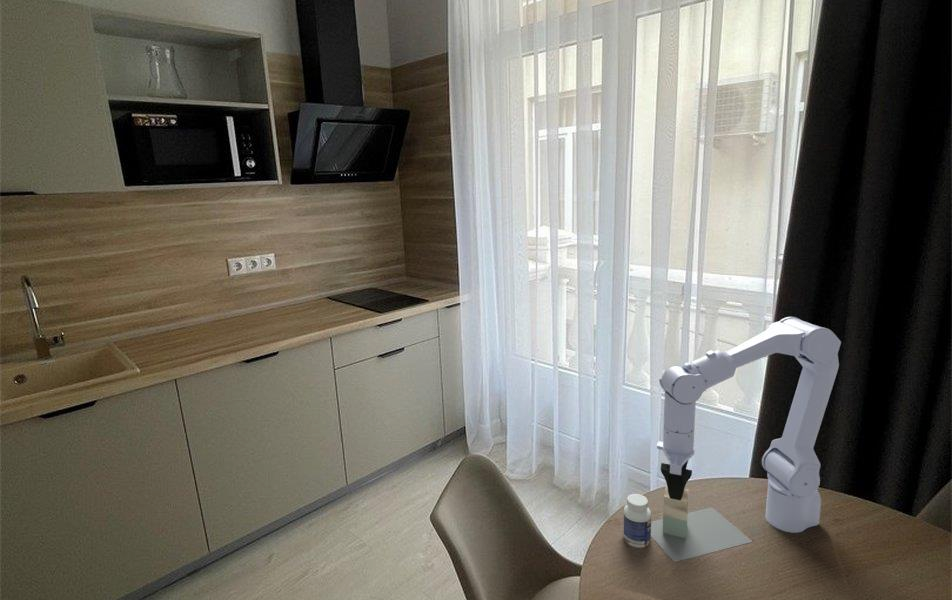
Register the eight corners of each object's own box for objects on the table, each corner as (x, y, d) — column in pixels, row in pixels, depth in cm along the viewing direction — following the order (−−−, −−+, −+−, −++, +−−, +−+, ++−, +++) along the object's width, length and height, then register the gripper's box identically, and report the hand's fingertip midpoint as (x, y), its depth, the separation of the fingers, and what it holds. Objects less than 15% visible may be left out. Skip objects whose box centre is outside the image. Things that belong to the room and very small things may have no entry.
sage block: (664, 519, 105) (665, 503, 104) (687, 524, 103) (687, 508, 102) (662, 532, 101) (663, 515, 100) (686, 538, 99) (686, 521, 98)
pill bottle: (652, 552, 97) (653, 508, 95) (624, 549, 98) (624, 506, 96) (648, 533, 102) (649, 492, 100) (622, 531, 103) (622, 490, 101)
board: (711, 510, 108) (712, 507, 108) (752, 545, 97) (752, 541, 97) (640, 527, 104) (640, 524, 104) (674, 565, 93) (674, 562, 93)
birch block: (665, 503, 104) (666, 484, 103) (687, 508, 102) (688, 489, 101) (663, 515, 100) (663, 496, 99) (686, 520, 98) (687, 501, 97)
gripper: (661, 409, 105) (659, 466, 108) (653, 440, 92) (652, 503, 95) (696, 413, 102) (694, 472, 105) (694, 446, 89) (691, 512, 92)
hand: (676, 487), depth 100 cm, fingers open, 7 cm apart
